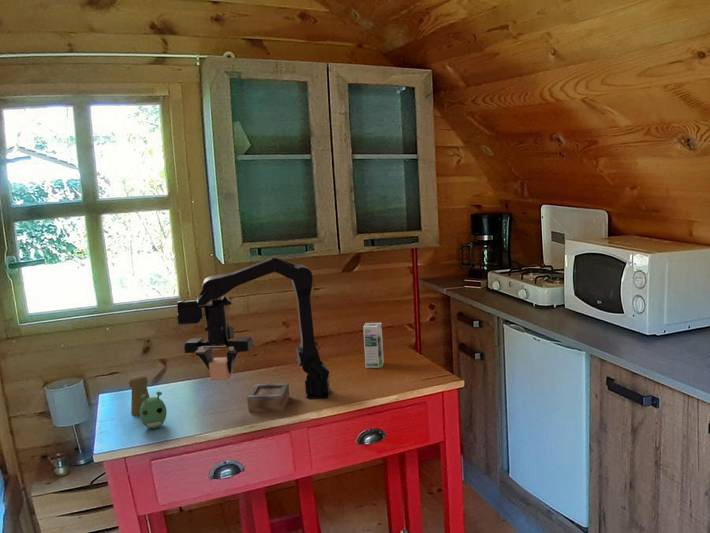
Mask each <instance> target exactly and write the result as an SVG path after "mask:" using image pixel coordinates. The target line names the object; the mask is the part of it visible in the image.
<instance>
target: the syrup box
mask: <svg viewBox="0 0 710 533" xmlns="http://www.w3.org/2000/svg"><path fill="white" fill-rule="evenodd" d="M362 330H363V333H362V334H363V344H364V345H363V346H364V360H365V361H364V362H365V365H364V367H365V368H366V369H382V368H383V366H384V363H385V361H384V360H385V359H384V346H383V345H384V344H383V328H382V322H365V324H364V325H363V328H362Z"/></svg>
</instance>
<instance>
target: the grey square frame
mask: <svg viewBox="0 0 710 533" xmlns="http://www.w3.org/2000/svg"><path fill="white" fill-rule="evenodd" d="M290 398H291V397H290V387H289V382H285V383H278V382H277V383H257V384H256V383H255V384H254V385H253V387H252V389H251V391H250V392H249V394H248V395H247V397H246V400H247V408H248V413H253V412H254V413H256V412H257V413H258V412H260V413H261V412H283V411H284V410H285V408H286V406H287V404H288V401H289V400H290Z"/></svg>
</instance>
